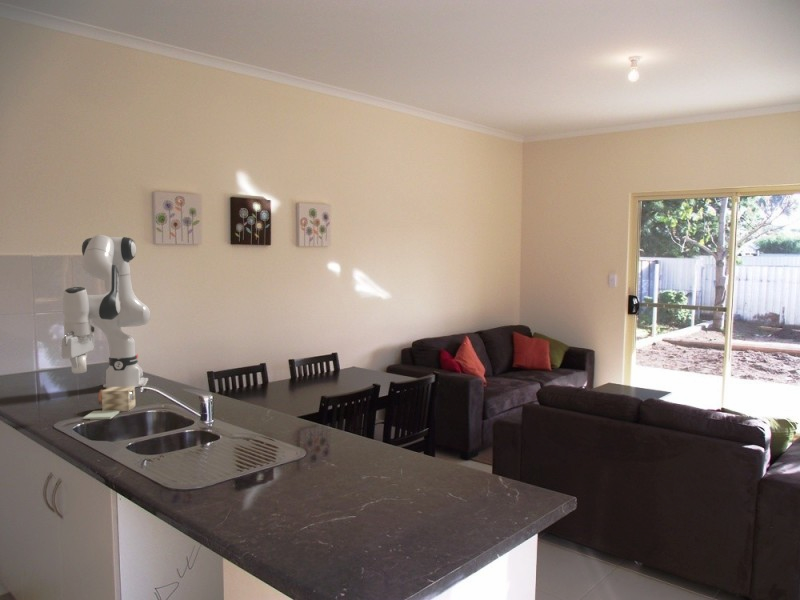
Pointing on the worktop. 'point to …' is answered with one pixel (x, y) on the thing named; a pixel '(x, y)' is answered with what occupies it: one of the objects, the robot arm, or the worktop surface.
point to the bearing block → (118, 398)
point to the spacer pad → (102, 414)
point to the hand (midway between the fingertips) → (79, 366)
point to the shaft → (101, 397)
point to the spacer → (80, 365)
